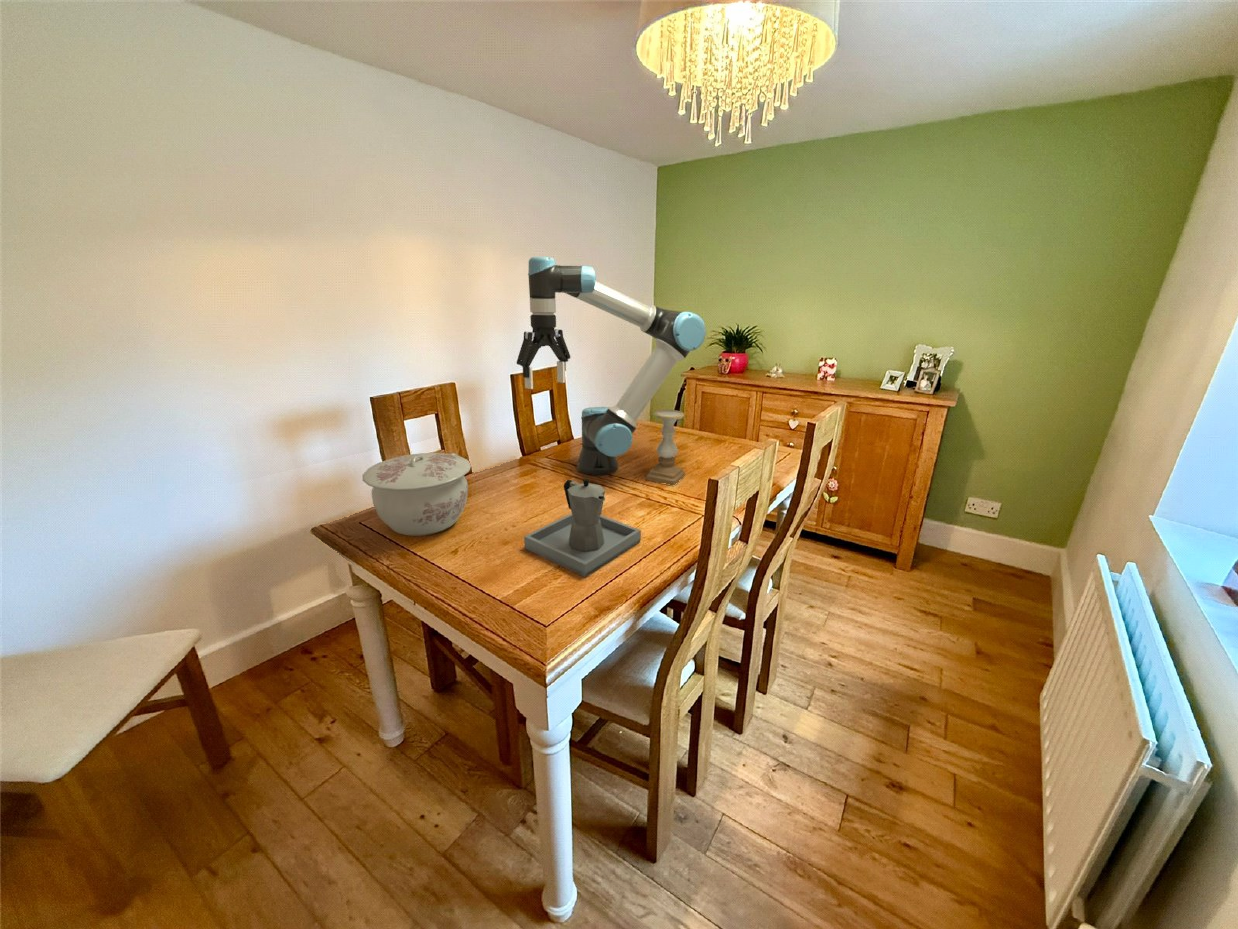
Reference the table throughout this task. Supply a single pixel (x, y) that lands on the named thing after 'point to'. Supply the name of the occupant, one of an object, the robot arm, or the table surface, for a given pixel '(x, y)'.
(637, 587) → the table surface
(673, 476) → the candle holder
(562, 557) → the charcoal dish
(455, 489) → the chamber pot
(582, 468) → the robot arm
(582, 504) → the coffeepot
